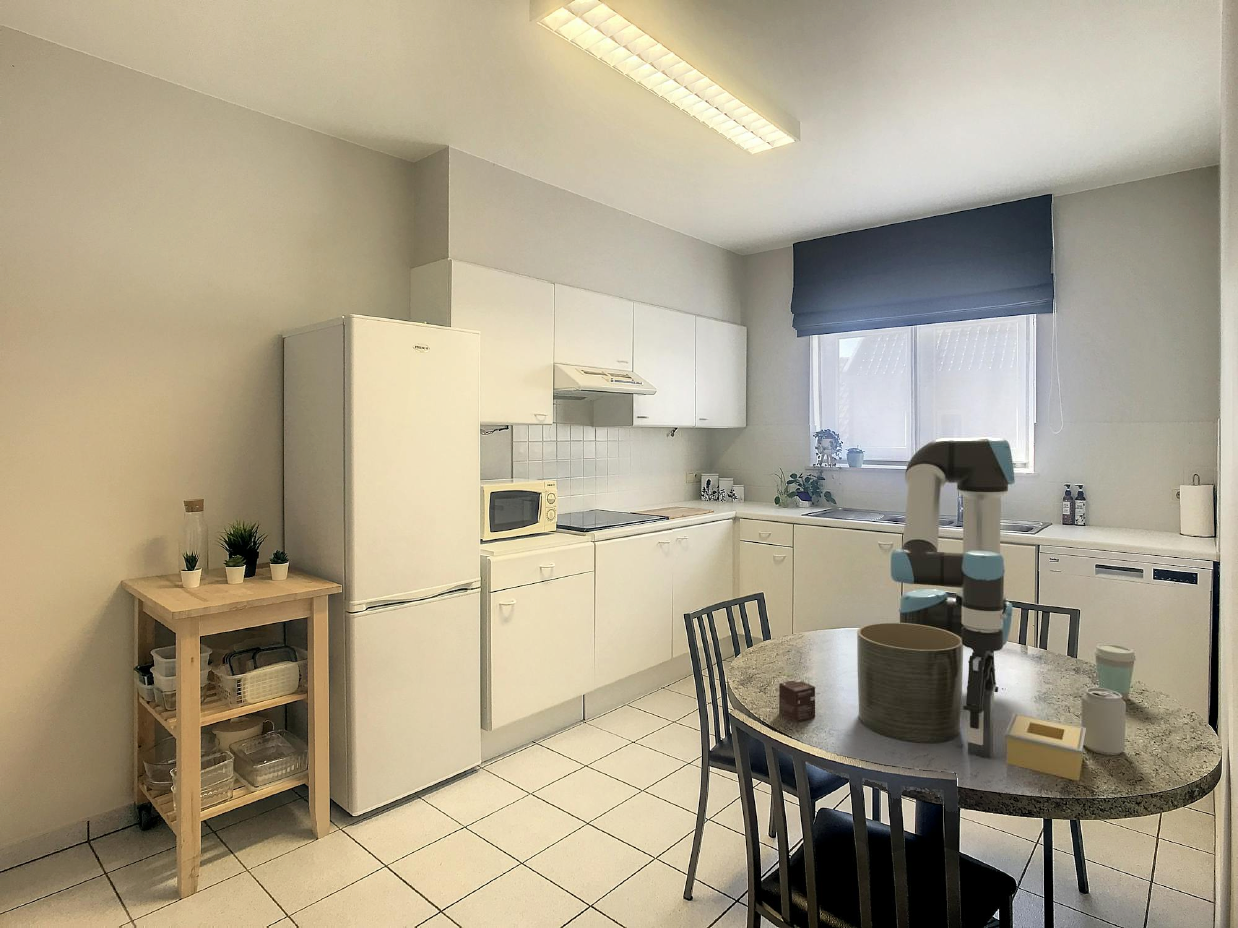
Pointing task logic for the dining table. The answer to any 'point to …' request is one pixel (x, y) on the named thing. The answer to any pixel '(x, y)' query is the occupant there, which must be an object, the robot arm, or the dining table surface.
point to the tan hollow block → (1045, 746)
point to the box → (797, 700)
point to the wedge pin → (985, 725)
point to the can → (1104, 721)
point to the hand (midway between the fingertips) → (980, 732)
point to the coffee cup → (1115, 668)
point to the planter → (910, 681)
